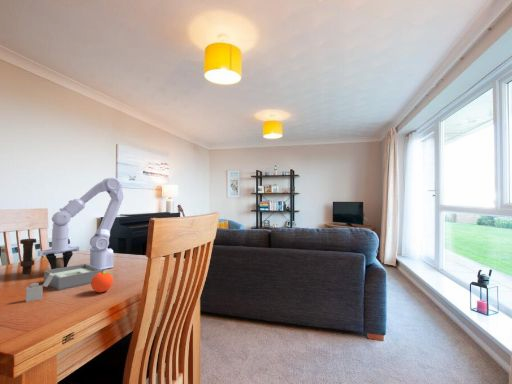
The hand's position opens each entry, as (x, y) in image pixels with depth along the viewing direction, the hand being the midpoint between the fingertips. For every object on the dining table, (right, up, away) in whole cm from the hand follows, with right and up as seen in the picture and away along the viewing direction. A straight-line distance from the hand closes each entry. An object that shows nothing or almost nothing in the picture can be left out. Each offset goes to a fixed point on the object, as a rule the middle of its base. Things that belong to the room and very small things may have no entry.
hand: (58, 269), depth 114 cm
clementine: (+31, -2, -20) cm, 37 cm away
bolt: (-14, -2, 0) cm, 15 cm away
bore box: (+13, -2, -9) cm, 16 cm away
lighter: (+15, -2, -28) cm, 31 cm away
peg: (0, -2, 0) cm, 2 cm away
